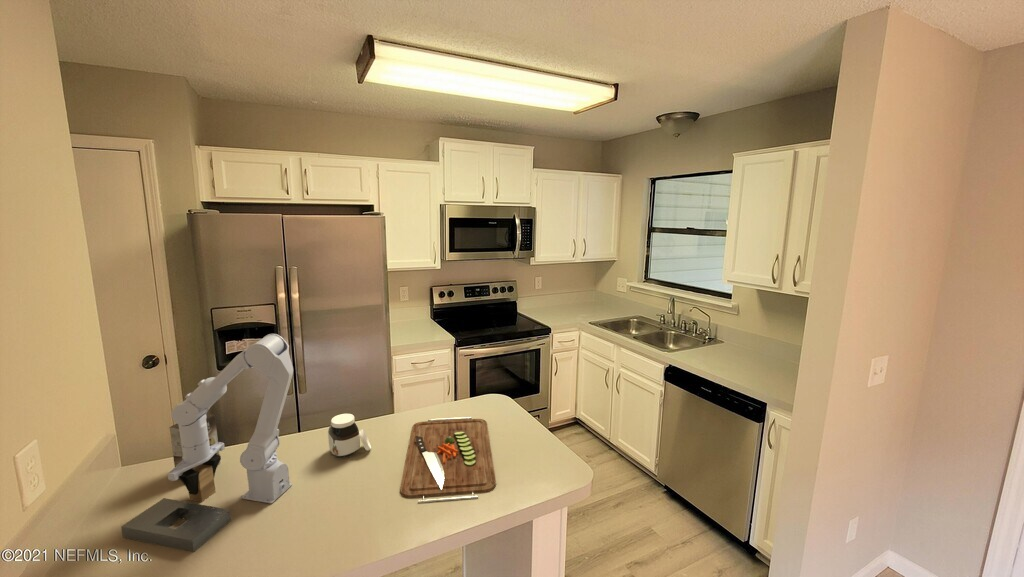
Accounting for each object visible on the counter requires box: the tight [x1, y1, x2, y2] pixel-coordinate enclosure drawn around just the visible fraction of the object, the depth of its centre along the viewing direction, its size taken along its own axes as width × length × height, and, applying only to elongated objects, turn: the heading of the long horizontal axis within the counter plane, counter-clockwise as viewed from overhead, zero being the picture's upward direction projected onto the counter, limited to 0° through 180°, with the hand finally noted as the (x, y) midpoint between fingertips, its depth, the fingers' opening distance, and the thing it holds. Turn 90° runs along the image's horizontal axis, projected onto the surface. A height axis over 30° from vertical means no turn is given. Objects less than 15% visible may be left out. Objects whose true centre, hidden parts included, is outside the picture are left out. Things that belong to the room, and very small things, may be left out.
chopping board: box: [399, 416, 497, 504], centre depth 133 cm, size 45×27×3 cm, turn 8°
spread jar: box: [327, 413, 372, 459], centre depth 133 cm, size 12×11×12 cm
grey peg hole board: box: [120, 497, 232, 553], centre depth 100 cm, size 20×10×3 cm, turn 79°
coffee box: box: [169, 413, 221, 468], centre depth 121 cm, size 9×6×16 cm
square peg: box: [188, 464, 217, 503], centre depth 111 cm, size 4×4×8 cm
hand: (201, 487), depth 112 cm, fingers closed on square peg, 4 cm apart
